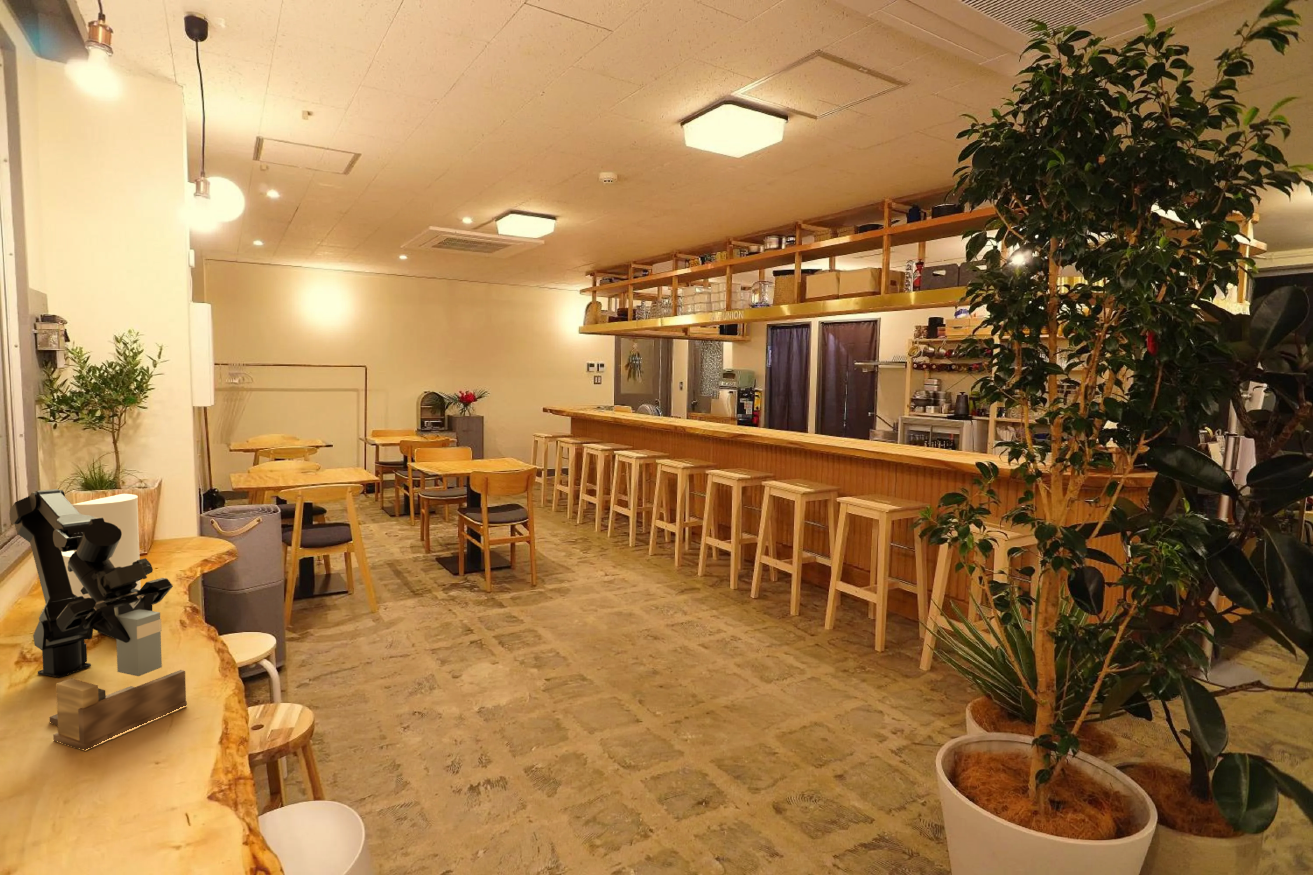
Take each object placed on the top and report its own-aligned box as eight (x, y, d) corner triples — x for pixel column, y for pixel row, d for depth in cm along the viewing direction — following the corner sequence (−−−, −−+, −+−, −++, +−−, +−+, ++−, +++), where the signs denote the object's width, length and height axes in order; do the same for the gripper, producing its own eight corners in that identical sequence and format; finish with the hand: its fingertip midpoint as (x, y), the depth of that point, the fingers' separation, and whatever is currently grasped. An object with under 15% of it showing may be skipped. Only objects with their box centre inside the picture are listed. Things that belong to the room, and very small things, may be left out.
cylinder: (155, 589, 204) (152, 494, 201) (108, 608, 186) (104, 505, 184) (97, 587, 204) (93, 492, 202) (44, 606, 187) (39, 503, 184)
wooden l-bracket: (85, 751, 118) (82, 693, 117) (26, 731, 123) (24, 676, 123) (186, 707, 134) (185, 655, 133) (131, 691, 140) (129, 642, 139)
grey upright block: (139, 676, 132) (137, 619, 131) (117, 671, 134) (115, 616, 133) (162, 667, 136) (160, 612, 136) (141, 662, 138) (139, 608, 137)
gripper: (64, 560, 126) (111, 627, 123) (164, 538, 143) (207, 597, 141) (36, 597, 129) (81, 664, 126) (137, 572, 146) (178, 630, 144)
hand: (141, 636), depth 134 cm, fingers closed on grey upright block, 4 cm apart
